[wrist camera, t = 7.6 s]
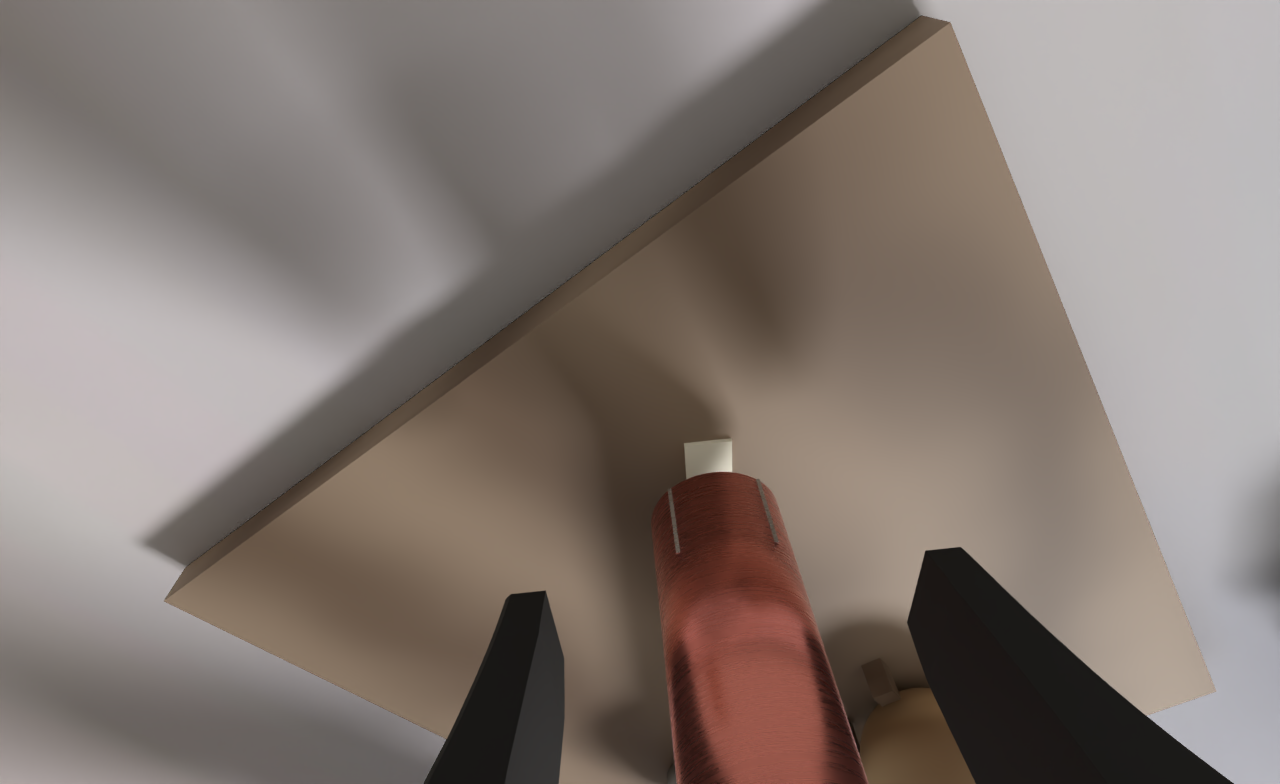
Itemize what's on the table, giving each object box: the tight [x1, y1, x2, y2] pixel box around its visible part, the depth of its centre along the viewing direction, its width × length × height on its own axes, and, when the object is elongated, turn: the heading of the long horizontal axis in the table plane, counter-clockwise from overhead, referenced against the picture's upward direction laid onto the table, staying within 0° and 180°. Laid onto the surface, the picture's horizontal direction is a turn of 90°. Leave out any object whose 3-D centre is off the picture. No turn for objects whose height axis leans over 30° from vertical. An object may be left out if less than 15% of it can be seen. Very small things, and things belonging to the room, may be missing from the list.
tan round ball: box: [860, 688, 976, 784], centre depth 18 cm, size 4×4×4 cm
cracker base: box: [164, 16, 1216, 784], centre depth 17 cm, size 20×24×4 cm
